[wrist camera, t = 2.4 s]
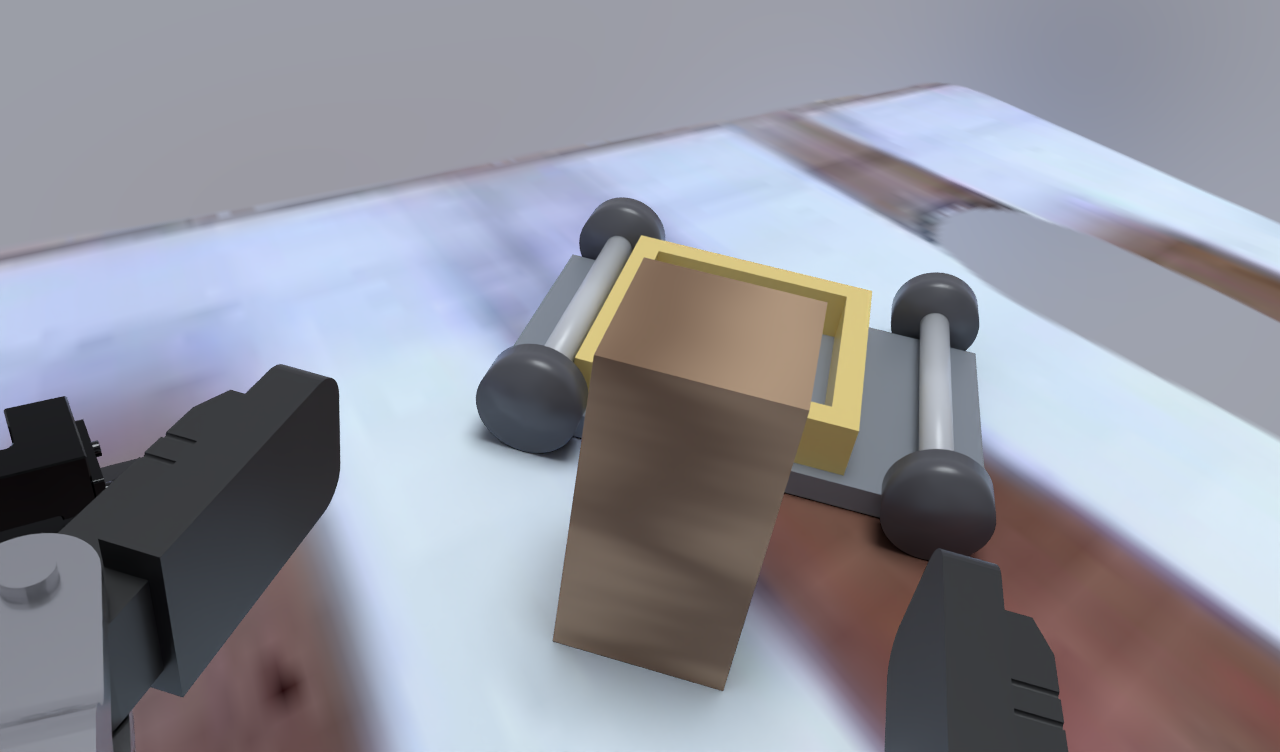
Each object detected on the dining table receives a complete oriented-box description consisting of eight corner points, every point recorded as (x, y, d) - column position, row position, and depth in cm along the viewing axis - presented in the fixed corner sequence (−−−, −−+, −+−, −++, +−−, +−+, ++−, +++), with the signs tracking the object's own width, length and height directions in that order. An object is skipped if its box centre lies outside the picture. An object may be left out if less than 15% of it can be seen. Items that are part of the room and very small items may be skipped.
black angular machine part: (224, 435, 34) (210, 324, 32) (295, 579, 30) (285, 463, 27) (-240, 551, 28) (-307, 424, 25) (-241, 758, 23) (-323, 629, 21)
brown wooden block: (748, 566, 32) (827, 302, 26) (722, 691, 28) (809, 410, 22) (599, 525, 33) (644, 256, 27) (552, 641, 29) (594, 354, 23)
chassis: (966, 354, 45) (994, 285, 42) (980, 574, 33) (1019, 494, 31) (579, 259, 47) (588, 188, 44) (468, 436, 35) (472, 352, 33)
